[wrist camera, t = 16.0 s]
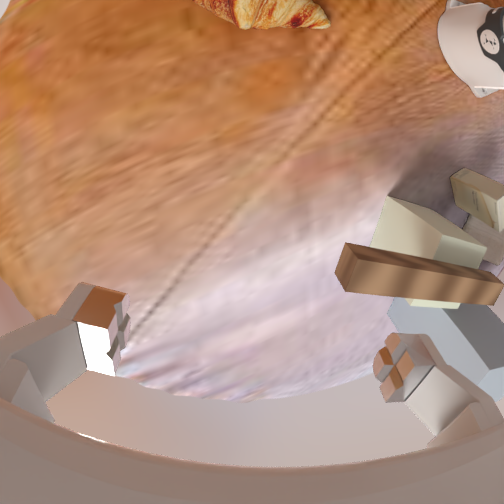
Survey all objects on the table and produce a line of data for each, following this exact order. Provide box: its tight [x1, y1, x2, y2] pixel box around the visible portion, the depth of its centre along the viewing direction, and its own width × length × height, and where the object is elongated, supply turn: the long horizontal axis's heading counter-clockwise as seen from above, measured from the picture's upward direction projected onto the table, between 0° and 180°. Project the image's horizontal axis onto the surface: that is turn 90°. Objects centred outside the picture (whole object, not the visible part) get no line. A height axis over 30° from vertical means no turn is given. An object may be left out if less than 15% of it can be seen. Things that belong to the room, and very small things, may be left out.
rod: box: [335, 243, 504, 305], centre depth 30 cm, size 26×4×4 cm, turn 79°
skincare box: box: [450, 168, 504, 233], centre depth 37 cm, size 6×4×12 cm
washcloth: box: [463, 214, 504, 265], centre depth 46 cm, size 12×18×3 cm, turn 76°
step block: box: [370, 196, 487, 309], centre depth 39 cm, size 10×10×15 cm
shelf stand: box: [387, 297, 504, 402], centre depth 41 cm, size 16×10×26 cm, turn 79°
